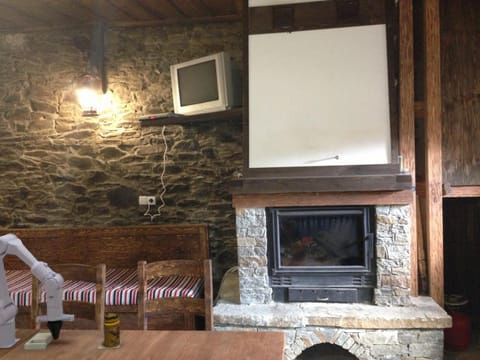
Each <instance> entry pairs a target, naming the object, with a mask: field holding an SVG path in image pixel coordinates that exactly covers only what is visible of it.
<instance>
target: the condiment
mask: <svg viewBox="0 0 480 360" xmlns="http://www.w3.org/2000/svg"><path fill="white" fill-rule="evenodd" d="M103 320H104V322H103V340H100V342H99V345H97V350H102V349H103V350H105V349H116V348H117V349H118V348H121V345H122V342H123V339H121V329H120V325H121V324H120V320H119V314H118V313H117V312H109V313H106V314H105V315H104V319H103Z"/></svg>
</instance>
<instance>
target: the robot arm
mask: <svg viewBox="0 0 480 360" xmlns="http://www.w3.org/2000/svg"><path fill="white" fill-rule="evenodd" d="M6 255H15V256H17V257H18V258H19V259H20V260H21V261H22V262H23V263H25V264H26V265H27V266H29V268H30V272H31V274H32V275H33V276H34V277H35V278H36V279H38V281H39V282H41V283H42V284H43V285H42V288H43V290H44V291H45V294H46V297H45V298H46V314H45V315H38V316H36V317H35V323H40V322H41V323H43V322H47V323H46V327H47V328H48V330H49V333H51V334H52V337H53V338H52V339H53V341H56V340H58V339H59V338H60V333H61V330H62V326H63V325H64V322H73V321H75V314H68V313H67V314H65V313H63V312H64V311H63V290H62V289H63V288H62V286H63V285H64V282H65V280H64V277H63V276H62V274H60V273H56V272H55V271H53V270H52V269H51V268H50V267H49V266H48V263H47V262H44V261H38V260H37V258H36V257H34V255H33V254H32V253H31V252H30V251H29V250H28V249H27V248H26V246H25V245H24V244H23V242H22V240H21V239H20V238H18V236H16V235H15V234H14V233H7V234H5V235H1V236H0V349H10V348H12V347H13V346H14V345H15V344H17V343H18V342H19V341H20V340H21V338H16V321H15V319H16V315H17V314H18V306H17V305H16V303H15V300H14V298H12V297H11V296H10V292H9V287H8V282H7V277H6V271H5V266H4V260H3V259H4V258H5V256H6Z"/></svg>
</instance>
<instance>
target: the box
mask: <svg viewBox="0 0 480 360" xmlns="http://www.w3.org/2000/svg"><path fill="white" fill-rule="evenodd" d="M40 334H51V332H37V333H36V334H35V335H34V336H33V337H32V338H31V339H30V340H28V341H27V342H26V343H24V345H23V346H24V351H25V350H27V351H28V350H46V349H47V346H46V343H33V339H34V338H35V337H37V336H38V335H40ZM51 339H53V337H52V334H51Z"/></svg>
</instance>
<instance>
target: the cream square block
mask: <svg viewBox="0 0 480 360" xmlns="http://www.w3.org/2000/svg"><path fill="white" fill-rule="evenodd" d="M51 342H52V338H51V334H40V335H38V336H37V337H35V338H34V339H33V343H46V347H47V346H48V345H49V344H50V343H51Z"/></svg>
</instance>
